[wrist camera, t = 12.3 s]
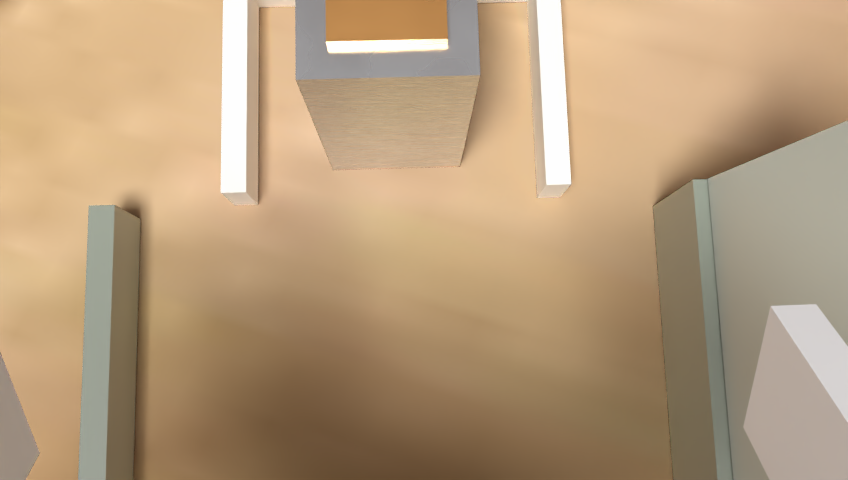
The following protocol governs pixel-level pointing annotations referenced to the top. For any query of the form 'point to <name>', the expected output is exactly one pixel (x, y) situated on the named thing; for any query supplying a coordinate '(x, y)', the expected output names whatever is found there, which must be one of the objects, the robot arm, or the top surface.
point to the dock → (244, 97)
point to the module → (389, 79)
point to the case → (678, 288)
